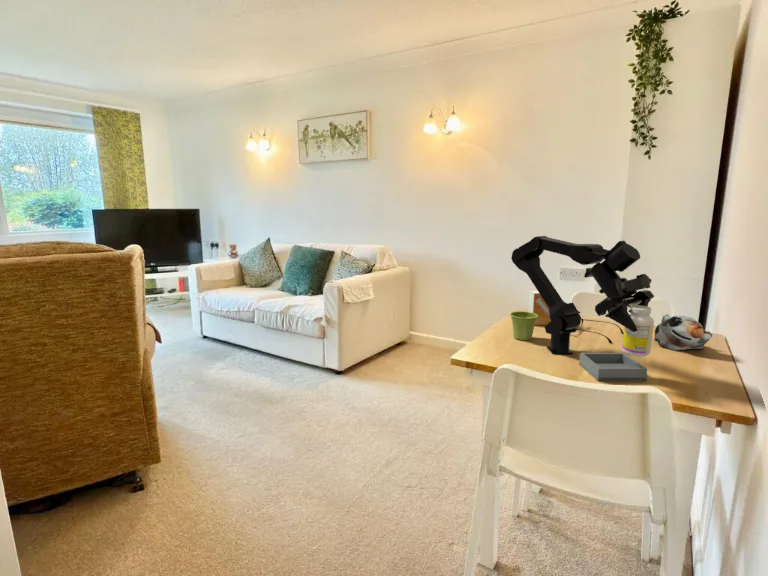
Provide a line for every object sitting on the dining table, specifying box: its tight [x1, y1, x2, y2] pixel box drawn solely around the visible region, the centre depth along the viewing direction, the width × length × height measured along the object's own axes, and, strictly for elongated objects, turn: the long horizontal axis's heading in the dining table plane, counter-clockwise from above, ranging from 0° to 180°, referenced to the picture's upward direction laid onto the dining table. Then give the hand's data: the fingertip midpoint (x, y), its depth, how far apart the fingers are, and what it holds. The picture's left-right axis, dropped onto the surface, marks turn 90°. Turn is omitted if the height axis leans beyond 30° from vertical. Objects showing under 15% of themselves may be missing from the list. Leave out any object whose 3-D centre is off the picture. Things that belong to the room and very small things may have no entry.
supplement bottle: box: [621, 305, 655, 357], centre depth 117 cm, size 7×7×13 cm
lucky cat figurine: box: [653, 314, 713, 352], centre depth 140 cm, size 15×12×14 cm
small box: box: [528, 289, 551, 326], centre depth 171 cm, size 8×6×13 cm
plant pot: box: [509, 310, 538, 341], centre depth 154 cm, size 9×9×9 cm
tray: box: [578, 352, 648, 382], centre depth 122 cm, size 13×13×4 cm
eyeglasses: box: [576, 318, 624, 344], centre depth 157 cm, size 16×16×4 cm
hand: (643, 329), depth 116 cm, fingers closed on supplement bottle, 7 cm apart
